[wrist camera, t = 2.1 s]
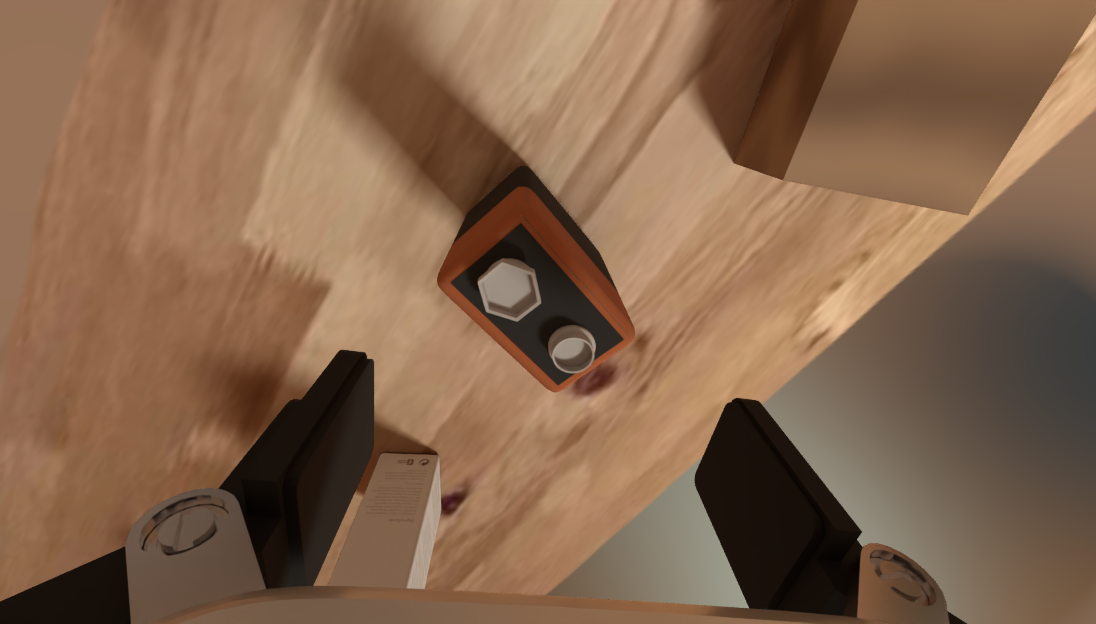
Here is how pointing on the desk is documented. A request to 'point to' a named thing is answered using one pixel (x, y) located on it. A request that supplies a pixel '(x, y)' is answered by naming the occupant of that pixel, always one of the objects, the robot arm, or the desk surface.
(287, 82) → the desk surface
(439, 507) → the skincare box
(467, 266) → the battery
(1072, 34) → the walnut block
